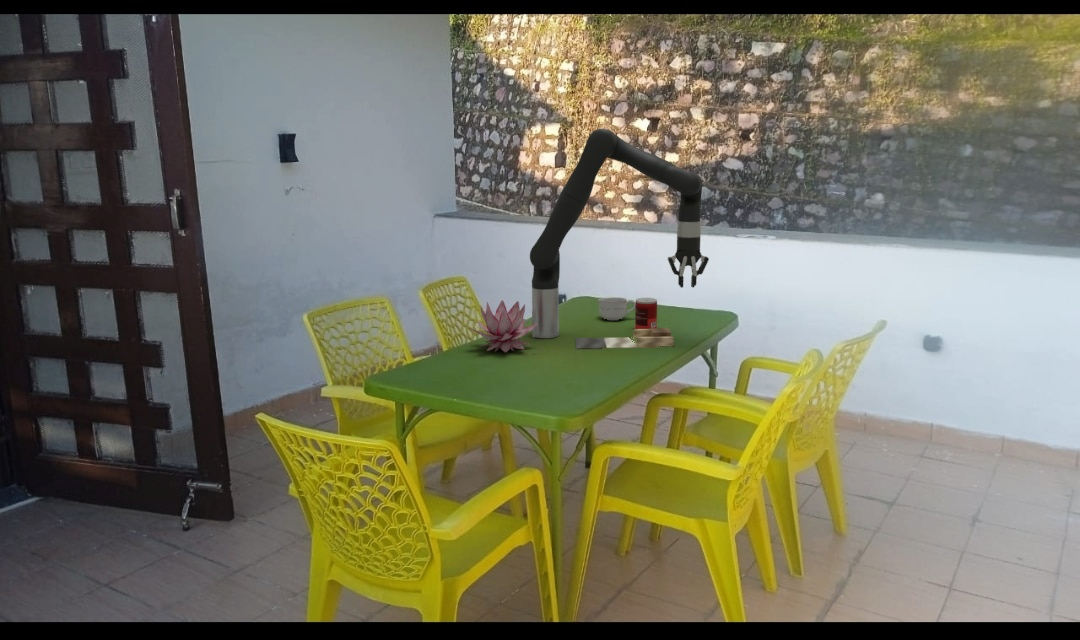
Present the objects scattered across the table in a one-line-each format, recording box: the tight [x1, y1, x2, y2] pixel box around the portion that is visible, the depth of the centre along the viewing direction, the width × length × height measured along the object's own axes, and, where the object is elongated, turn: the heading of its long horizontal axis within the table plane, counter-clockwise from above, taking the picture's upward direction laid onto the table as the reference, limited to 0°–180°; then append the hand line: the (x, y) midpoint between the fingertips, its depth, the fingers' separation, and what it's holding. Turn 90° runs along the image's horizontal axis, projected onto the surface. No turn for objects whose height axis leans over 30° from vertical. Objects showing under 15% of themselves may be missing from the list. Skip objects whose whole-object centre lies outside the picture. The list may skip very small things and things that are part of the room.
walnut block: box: [650, 327, 672, 337], centre depth 271 cm, size 6×6×4 cm
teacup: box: [598, 296, 636, 321], centre depth 306 cm, size 14×11×8 cm
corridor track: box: [574, 328, 675, 350], centre depth 272 cm, size 32×13×3 cm, turn 90°
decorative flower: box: [470, 300, 537, 354], centre depth 265 cm, size 21×21×15 cm
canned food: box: [634, 297, 658, 329], centre depth 289 cm, size 8×8×11 cm
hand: (687, 286), depth 268 cm, fingers open, 3 cm apart
